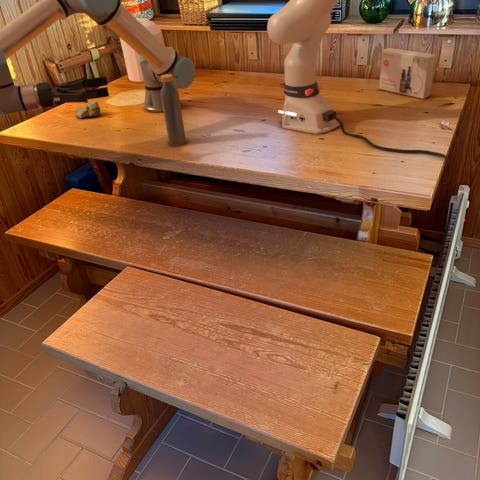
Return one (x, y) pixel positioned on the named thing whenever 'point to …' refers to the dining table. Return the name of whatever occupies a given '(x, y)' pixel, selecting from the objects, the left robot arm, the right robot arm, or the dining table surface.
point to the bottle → (173, 114)
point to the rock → (88, 110)
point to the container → (133, 57)
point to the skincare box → (407, 72)
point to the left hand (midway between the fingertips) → (107, 85)
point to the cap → (166, 78)
